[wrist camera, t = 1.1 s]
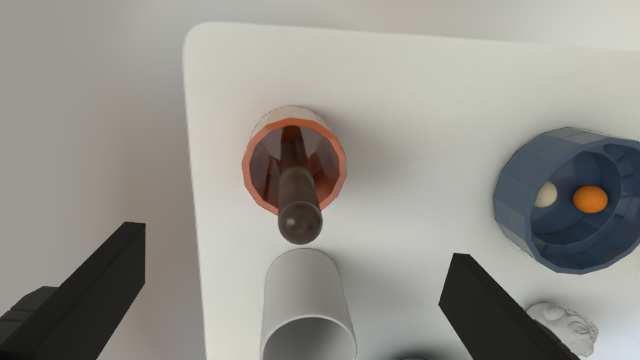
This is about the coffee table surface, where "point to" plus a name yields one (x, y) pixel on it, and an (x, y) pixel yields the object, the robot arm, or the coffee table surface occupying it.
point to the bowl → (562, 215)
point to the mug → (305, 310)
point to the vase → (412, 359)
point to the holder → (266, 151)
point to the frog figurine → (567, 327)
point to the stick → (297, 196)
